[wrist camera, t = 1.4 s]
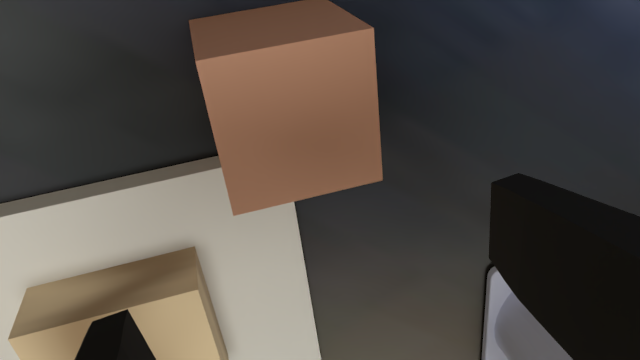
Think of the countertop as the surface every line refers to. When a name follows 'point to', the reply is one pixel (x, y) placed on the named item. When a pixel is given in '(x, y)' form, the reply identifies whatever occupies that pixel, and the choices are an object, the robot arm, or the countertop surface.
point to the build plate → (164, 237)
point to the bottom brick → (118, 295)
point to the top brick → (290, 101)
